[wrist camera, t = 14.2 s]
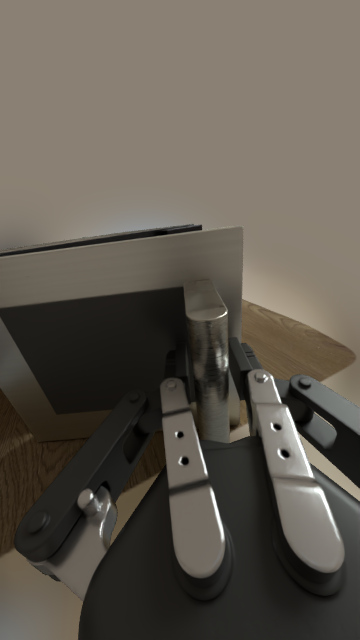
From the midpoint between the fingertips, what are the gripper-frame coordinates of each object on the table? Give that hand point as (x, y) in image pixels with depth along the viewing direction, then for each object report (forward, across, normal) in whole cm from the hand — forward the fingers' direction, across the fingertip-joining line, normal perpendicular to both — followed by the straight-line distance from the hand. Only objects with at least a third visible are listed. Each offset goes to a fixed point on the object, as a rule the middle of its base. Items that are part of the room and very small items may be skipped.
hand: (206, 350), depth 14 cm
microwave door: (-1, +7, +10) cm, 12 cm away
